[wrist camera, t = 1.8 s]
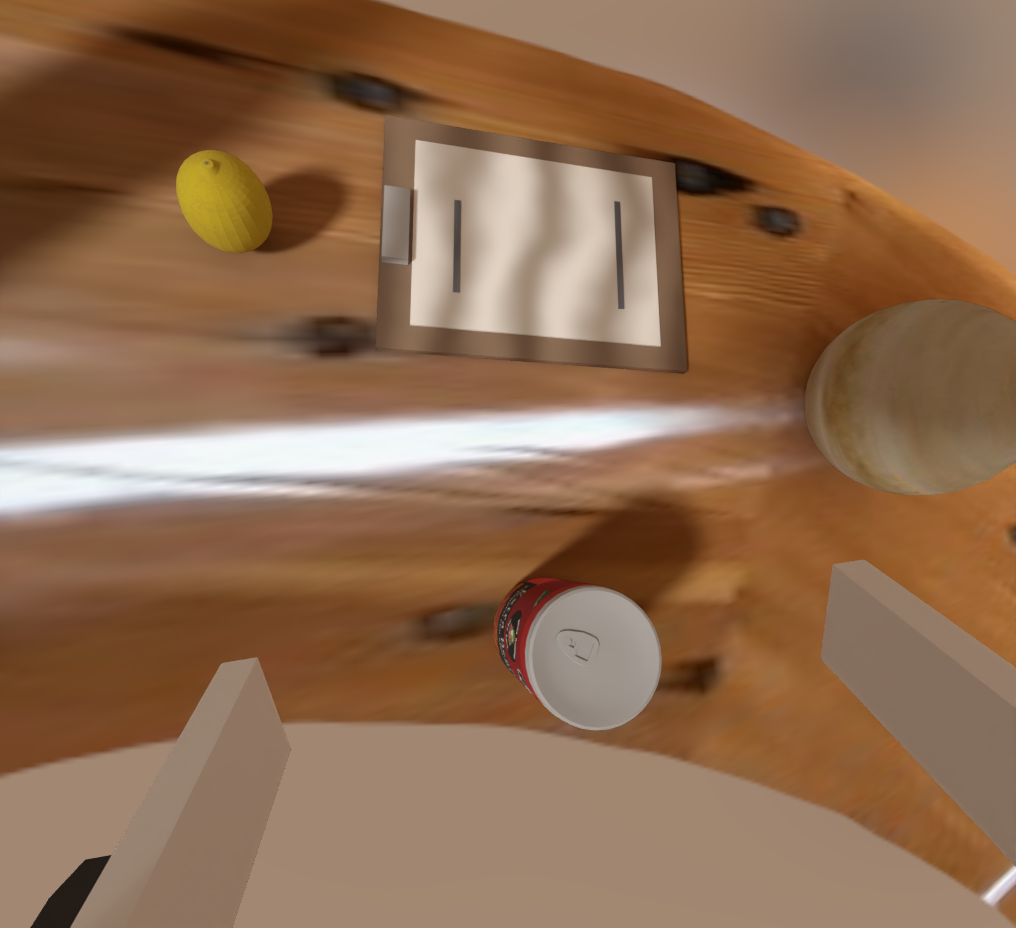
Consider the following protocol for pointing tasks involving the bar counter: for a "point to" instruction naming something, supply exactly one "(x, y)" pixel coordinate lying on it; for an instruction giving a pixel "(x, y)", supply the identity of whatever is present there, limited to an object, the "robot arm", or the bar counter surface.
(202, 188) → the lemon
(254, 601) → the bar counter surface
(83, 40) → the bar counter surface
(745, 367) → the bar counter surface
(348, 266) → the bar counter surface
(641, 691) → the canned food
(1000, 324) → the decorative ball
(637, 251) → the clipboard
